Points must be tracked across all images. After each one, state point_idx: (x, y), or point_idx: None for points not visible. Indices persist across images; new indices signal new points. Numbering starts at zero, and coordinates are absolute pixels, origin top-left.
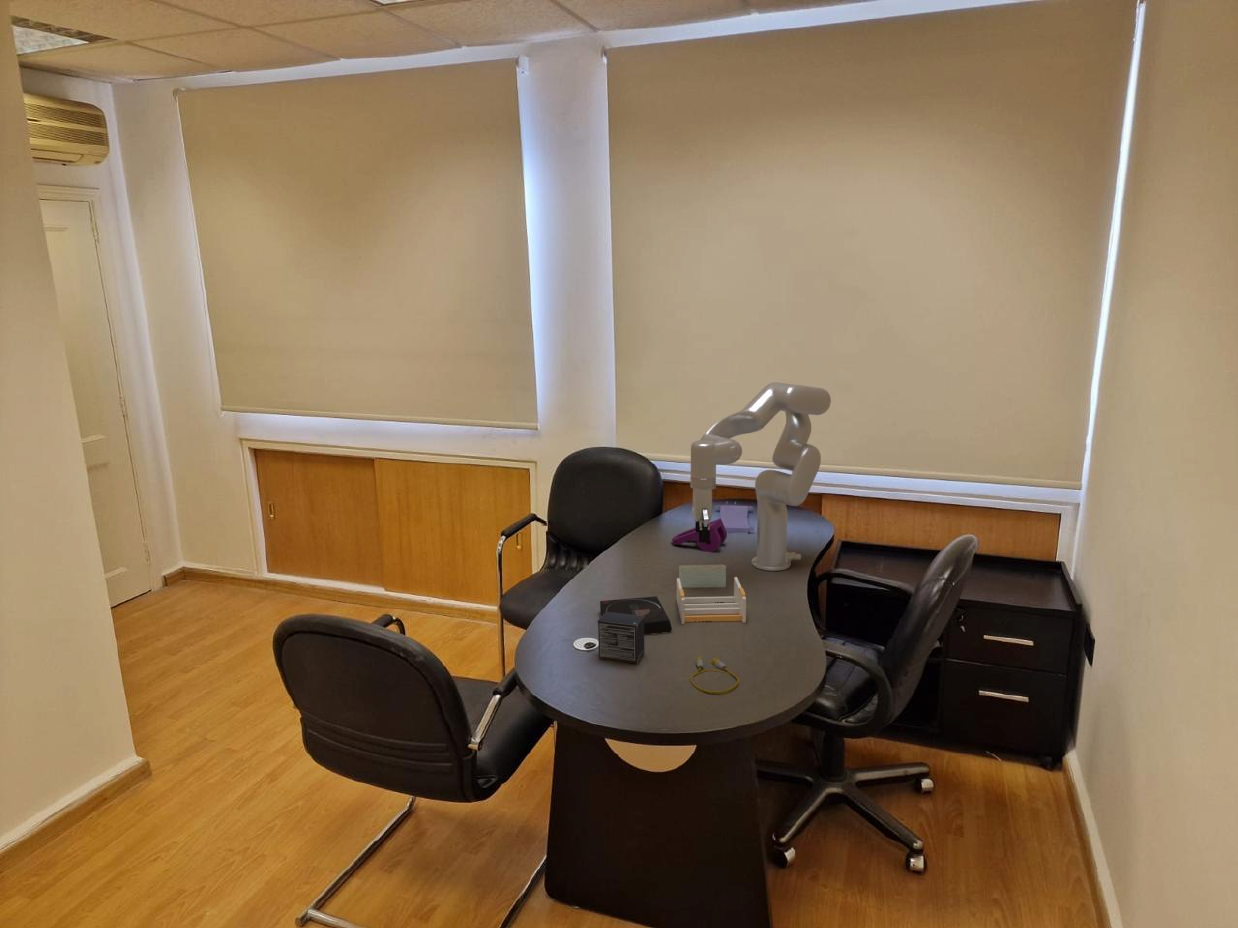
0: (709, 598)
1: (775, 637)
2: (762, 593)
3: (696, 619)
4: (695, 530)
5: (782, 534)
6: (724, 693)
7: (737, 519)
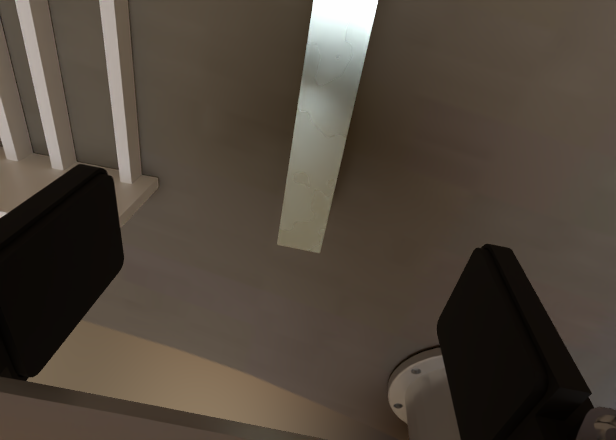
0: (108, 69)
1: None
2: (210, 282)
3: None
4: (493, 250)
5: None
6: None
7: None
